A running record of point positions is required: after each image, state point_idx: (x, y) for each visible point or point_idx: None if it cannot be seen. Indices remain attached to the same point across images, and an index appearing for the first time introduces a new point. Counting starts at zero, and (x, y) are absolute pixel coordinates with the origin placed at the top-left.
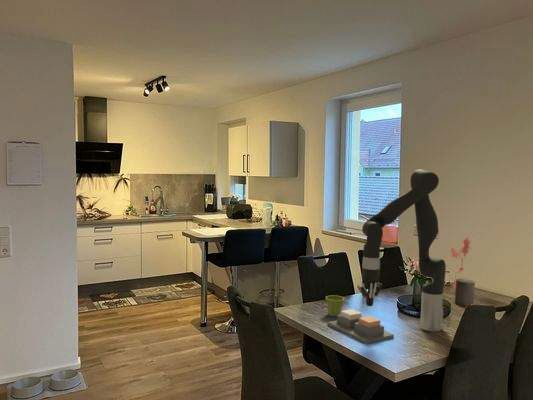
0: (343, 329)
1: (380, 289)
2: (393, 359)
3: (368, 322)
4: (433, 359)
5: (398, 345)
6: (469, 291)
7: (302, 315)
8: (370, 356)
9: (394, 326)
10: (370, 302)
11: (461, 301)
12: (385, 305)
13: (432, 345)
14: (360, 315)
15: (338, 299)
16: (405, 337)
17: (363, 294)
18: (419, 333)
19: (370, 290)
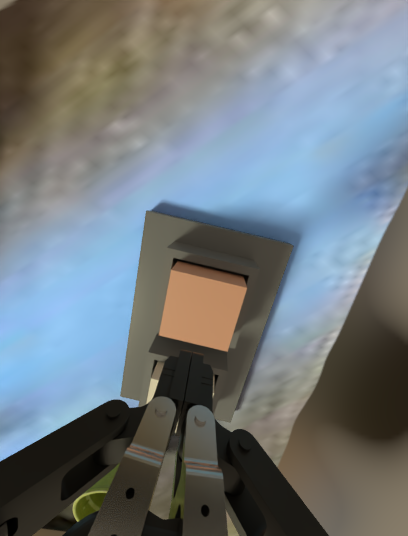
0: (251, 358)
1: (6, 458)
2: (365, 69)
3: (245, 291)
4: None
5: (204, 150)
6: None
7: None
8: (397, 159)
9: (48, 274)
10: (200, 373)
11: None
12: None
13: (84, 43)
14: (158, 372)
15: (87, 500)
16: (106, 182)
17: (244, 487)
18: (20, 169)
19: (219, 517)
